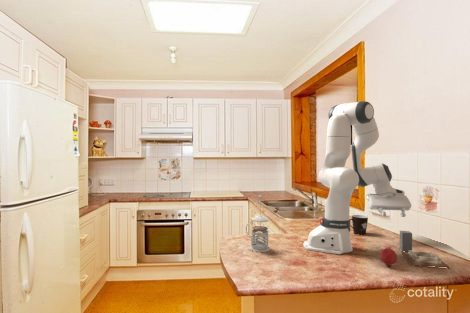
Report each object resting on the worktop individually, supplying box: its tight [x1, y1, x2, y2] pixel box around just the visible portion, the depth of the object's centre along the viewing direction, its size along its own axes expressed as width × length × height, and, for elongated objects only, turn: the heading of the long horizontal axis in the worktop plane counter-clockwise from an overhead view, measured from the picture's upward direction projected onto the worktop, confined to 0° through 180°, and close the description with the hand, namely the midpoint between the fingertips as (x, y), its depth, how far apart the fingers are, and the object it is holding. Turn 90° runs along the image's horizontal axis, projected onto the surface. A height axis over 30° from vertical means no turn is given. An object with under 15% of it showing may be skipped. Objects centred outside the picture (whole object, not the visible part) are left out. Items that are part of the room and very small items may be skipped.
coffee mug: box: [349, 214, 369, 236], centre depth 163 cm, size 12×9×10 cm
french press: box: [245, 195, 271, 253], centre depth 134 cm, size 10×12×25 cm
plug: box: [399, 230, 413, 253], centre depth 132 cm, size 4×4×9 cm
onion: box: [379, 245, 398, 267], centre depth 113 cm, size 6×6×8 cm
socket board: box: [401, 249, 450, 269], centre depth 119 cm, size 13×13×3 cm
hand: (394, 216), depth 144 cm, fingers open, 8 cm apart
